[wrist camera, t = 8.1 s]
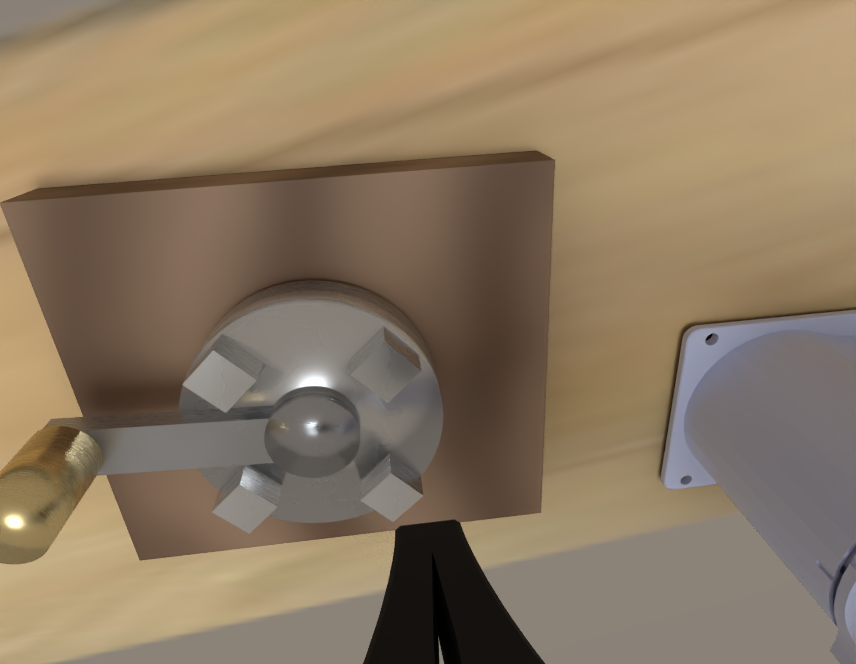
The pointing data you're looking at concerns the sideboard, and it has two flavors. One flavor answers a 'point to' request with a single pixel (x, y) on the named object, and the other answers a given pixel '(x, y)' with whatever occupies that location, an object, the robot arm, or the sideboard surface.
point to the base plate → (300, 261)
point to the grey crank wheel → (259, 421)
